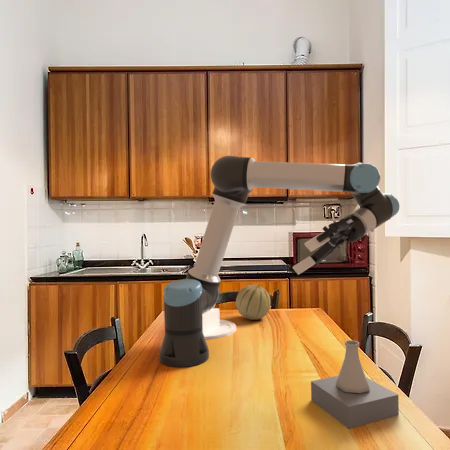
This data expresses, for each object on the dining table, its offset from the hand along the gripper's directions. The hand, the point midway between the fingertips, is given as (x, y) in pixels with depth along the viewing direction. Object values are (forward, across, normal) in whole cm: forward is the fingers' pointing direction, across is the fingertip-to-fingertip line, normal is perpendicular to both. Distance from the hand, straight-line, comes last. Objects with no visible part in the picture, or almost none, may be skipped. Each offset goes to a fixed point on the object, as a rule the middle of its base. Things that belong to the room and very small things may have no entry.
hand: (301, 259), depth 101 cm
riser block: (+14, +1, -35) cm, 37 cm away
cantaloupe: (0, +66, +6) cm, 66 cm away
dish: (+22, +56, +12) cm, 61 cm away
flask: (+12, -1, -31) cm, 33 cm away
